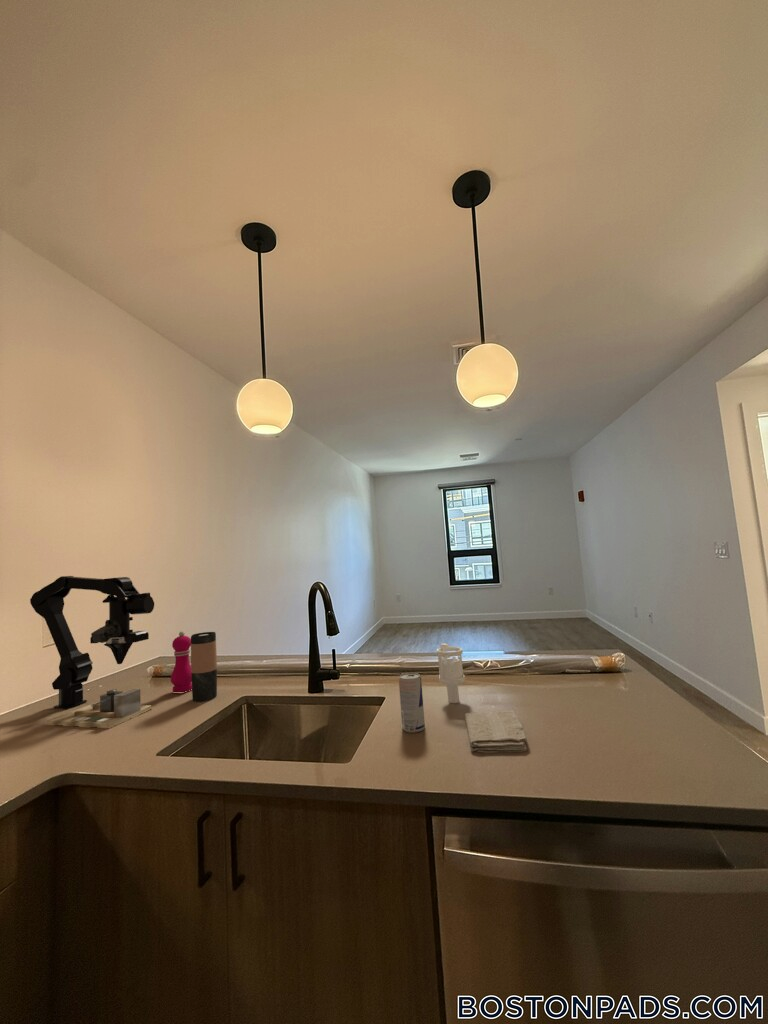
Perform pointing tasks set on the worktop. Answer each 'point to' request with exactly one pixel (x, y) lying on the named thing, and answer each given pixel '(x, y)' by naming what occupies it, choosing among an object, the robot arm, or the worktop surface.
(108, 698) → the gauge slider
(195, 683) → the travel mug
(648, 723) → the worktop surface
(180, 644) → the pepper mill
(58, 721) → the gauge board
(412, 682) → the energy drink
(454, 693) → the white stepped column
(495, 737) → the washcloth
